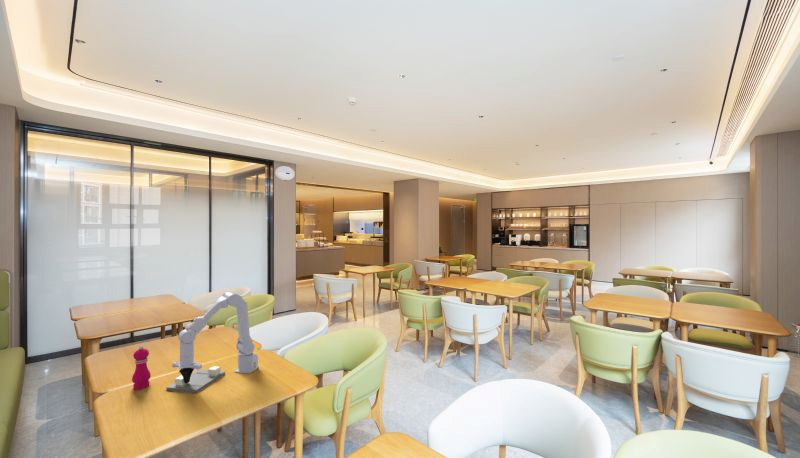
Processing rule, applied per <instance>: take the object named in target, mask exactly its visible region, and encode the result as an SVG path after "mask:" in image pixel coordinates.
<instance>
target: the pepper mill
mask: <svg viewBox="0 0 800 458" xmlns="http://www.w3.org/2000/svg"><path fill="white" fill-rule="evenodd" d="M149 355H150V351H149V350H148V349H147V348H145V347H144V346H143V345H140V346H139V347H138V349H137V350H135V351H134V353H133V355H132V357H133V359H134V364H135V370H134V371H133V372H134V373H133V374H132V377H131V382H132V383H133V384H132V385H133V386H132V389H133V390H136V391H137V390H143V389H146V388H147V387H149V386H150V379H151V372H150V370H149V368H148V365H147V362H148V357H149Z"/></svg>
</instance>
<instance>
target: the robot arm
mask: <svg viewBox="0 0 800 458" xmlns="http://www.w3.org/2000/svg"><path fill="white" fill-rule="evenodd" d="M229 306H230V307H233V308H236V314H237V315H236V317H237V329H238V330H237V331H238V338H237V342H236V350H237V351H238V353H237V369H235V370H234V373H239V374H241V373H242V374H251V373H253V372H255V371H256V370H257V369H258V368H259V356H258V354H256V353H254V351H255V349H256V348H255V344H254V343H253V339H252V337H251V336H250V323H249V322H250V321H249V312H248V310H249V309H248V303H247V302H246V301H245V299H244V298H243V296H242V295H239V294H237V293H234V292H231V291H226V292H224V293H223V294H222V295H220V296H219V298H217V300H216V301H215V302H214V303H213V304H212V305H211V307H209V309H208V310H207V311H206V312H205V313H204V314H203V315H202V316H197V317H195V318H194V319H193V321H192V322H191V323H190V324H189V325H188V326H186V327H185V329H181V331H180V332H179V334H178V336H177V338H178V340H179V361H175V362H173V363H172V365H171V367H172V368H178V369H179V371H178V372H179V374H181V375H182V376H183V379H184V382H185V384H186V383H188V382H190V377H191V374H192V373H193V372H194V371H195V369H196V370H199V369H202V368H203V365H202V363H198V362H195V344H194V341H195V340H196V337H197V335H198V334H199V333H200V332H201V331H202V330H204V328H205V327H206V326H207V325H208V324H209V323H208V322H209V320H210V319H212V317H214V316H215V315H216V314H217V313H218V312H219V311H220V310H221V309H227V308H229ZM181 375H180V376H181Z"/></svg>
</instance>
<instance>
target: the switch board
mask: <svg viewBox="0 0 800 458" xmlns="http://www.w3.org/2000/svg"><path fill="white" fill-rule="evenodd" d="M225 375H226V371H223V370H221V372H220V373H219V374H217V375H216V376H212V375H208V369H202V368H201V369H199V370H197V369H196V370H193V372H192V374H191V377H190V382H188V383H186V384H184V385H182V386H181V385H175V382H173V383H171V384H170V385H168V386H166V391H168V392H169V391H170V392H178V393H179V392H181V393H187V394H188V393H190V394H197V393H199V392H200V391H202V390H204V389H206V387H208V386H210V385H211V384H213V383H214V382H216V381H218V380H219V379H220V378H222V377H224V376H225Z"/></svg>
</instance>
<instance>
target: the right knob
mask: <svg viewBox="0 0 800 458" xmlns="http://www.w3.org/2000/svg"><path fill="white" fill-rule="evenodd" d="M207 370H208V375H212V376H216V375H217V374H219V373H220V372H221V371H222V370H221V366H218V365H217V366H215V365H214V366H211V367H209V368H208V369H207Z"/></svg>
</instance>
